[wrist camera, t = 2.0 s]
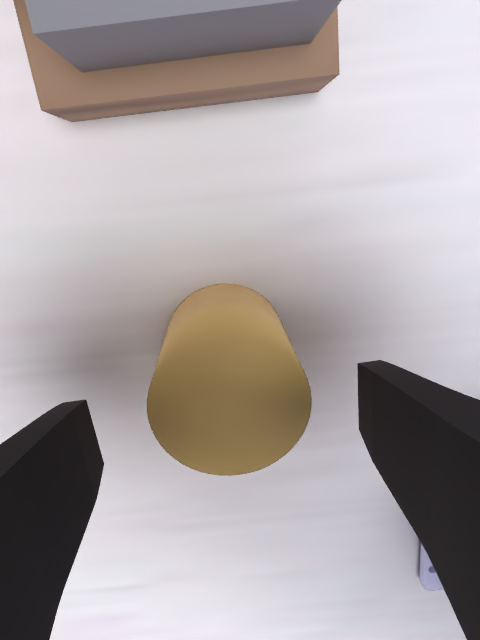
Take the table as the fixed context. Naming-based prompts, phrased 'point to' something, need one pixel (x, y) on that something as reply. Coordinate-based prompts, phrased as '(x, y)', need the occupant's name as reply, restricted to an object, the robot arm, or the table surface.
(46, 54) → the walnut base block
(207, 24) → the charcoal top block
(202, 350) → the ochre cylinder
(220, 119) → the table surface
